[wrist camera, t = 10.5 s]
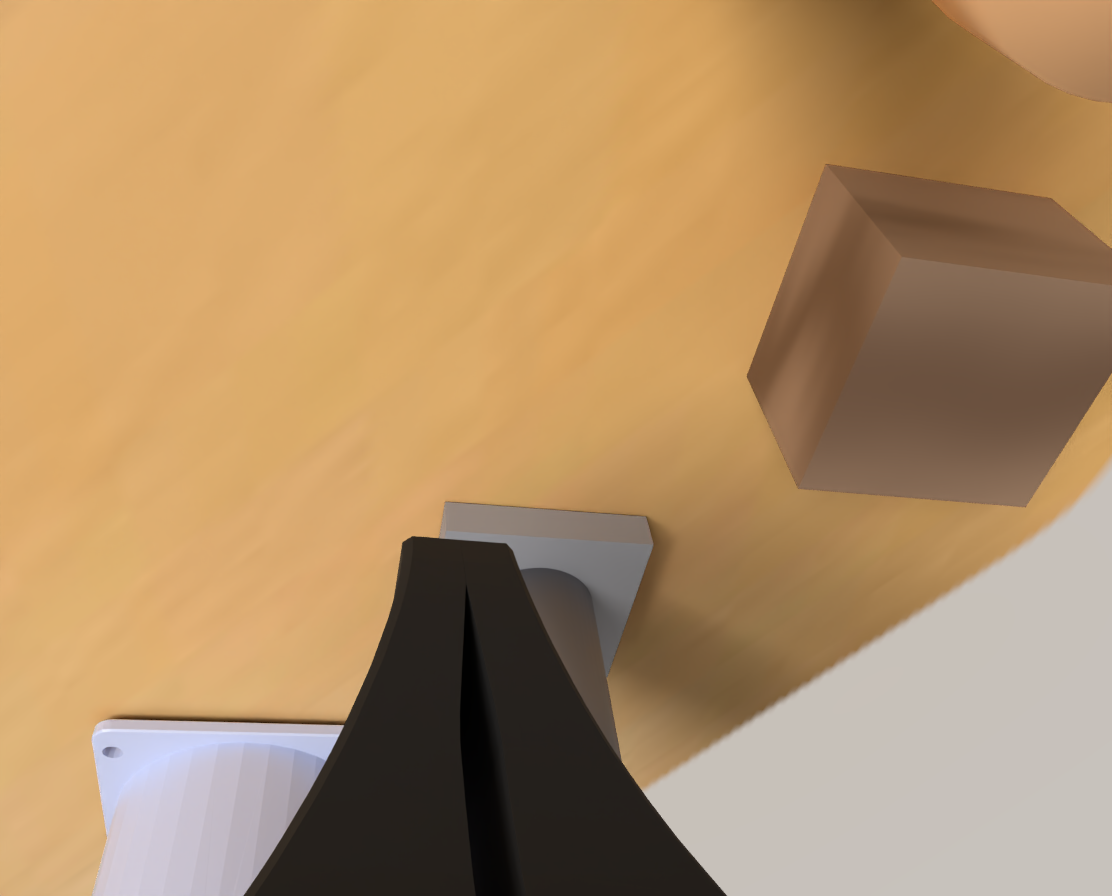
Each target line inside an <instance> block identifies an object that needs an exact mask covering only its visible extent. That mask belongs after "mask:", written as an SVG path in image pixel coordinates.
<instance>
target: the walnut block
mask: <svg viewBox="0 0 1112 896" xmlns="http://www.w3.org/2000/svg"><path fill="white" fill-rule="evenodd" d="M1111 373H1112V249H1111V248H1110V247H1109V246H1107V245H1106V244H1105V243H1104V242H1103V241H1101V240H1100V239H1099V238H1098V237H1097V236H1095V235H1094V234H1093V233H1092V232H1091V231H1089V230H1088V229H1087V228H1086V227H1085V226H1084V225H1082V224H1081V223H1080V222H1079V221H1078V220H1076V219H1075V218H1074V217H1073V216H1072V215H1070V214H1069V213H1068V212H1067V211H1066V210H1064V209H1063V208H1062V207H1061V206H1060V205H1058V204H1057V203H1056V202H1055V201H1054V200H1053V199H1051V198H1045V197H1039V196H1032V195H1026V194H1019V193H1012V192H1006V191H999V190H993V189H986V188H980V187H973V186H967V185H960V184H954V183H947V182H941V181H934V180H927V179H921V178H914V177H908V176H901V175H895V174H888V173H882V172H875V171H869V170H862V169H856V168H849V167H842V166H836V165H829V164H826V165H825V167H824V170H823V173H822V175H821V178H820V181H819V183H818V186H817V189H816V192H815V194H814V197H813V200H812V202H811V205H810V208H809V210H808V213H807V216H806V218H805V221H804V224H803V226H802V229H801V232H800V235H799V237H798V240H797V243H796V245H795V248H794V251H793V253H792V256H791V259H790V261H789V264H788V267H787V269H786V272H785V275H784V278H783V280H782V283H781V286H780V288H779V291H778V294H777V296H776V299H775V302H774V304H773V307H772V310H771V312H770V315H769V318H768V321H767V323H766V326H765V329H764V331H763V334H762V337H761V339H760V342H759V345H758V347H757V350H756V353H755V356H754V358H753V361H752V364H751V366H750V369H749V372H748V374H747V378H748V380H749V382H750V384H751V387H752V389H753V391H754V393H755V395H756V398H757V400H758V402H759V404H760V406H761V409H762V411H763V413H764V415H765V417H766V419H767V422H768V424H769V426H770V428H771V430H772V433H773V435H774V437H775V439H776V441H777V443H778V446H779V448H780V450H781V452H782V454H783V457H784V459H785V461H786V463H787V465H788V468H789V470H790V472H791V474H792V476H793V478H794V481H795V483H796V485H797V487H798V489H808V490H820V491H833V492H845V493H857V494H870V495H882V496H894V497H906V498H919V499H931V500H943V501H955V502H968V503H980V504H992V505H1005V506H1017V507H1026V506H1027V504H1028V503H1029V501H1030V499H1031V498H1032V496H1033V495H1034V493H1035V492H1036V490H1037V489H1038V487H1039V485H1040V484H1041V482H1042V481H1043V479H1044V478H1045V476H1046V475H1047V473H1048V471H1049V470H1050V468H1051V467H1052V465H1053V464H1054V462H1055V461H1056V459H1057V457H1058V456H1059V454H1060V453H1061V451H1062V450H1063V448H1064V447H1065V445H1066V443H1067V442H1068V440H1069V439H1070V437H1071V436H1072V434H1073V433H1074V431H1075V429H1076V428H1077V426H1078V425H1079V423H1080V422H1081V420H1082V418H1083V417H1084V415H1085V414H1086V412H1087V411H1088V409H1089V408H1090V406H1091V404H1092V403H1093V401H1094V400H1095V398H1096V397H1097V395H1098V394H1099V392H1100V390H1101V389H1102V387H1103V386H1104V384H1105V383H1106V381H1107V380H1108V378H1109V376H1110V375H1111Z"/></svg>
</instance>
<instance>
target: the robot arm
mask: <svg viewBox="0 0 1112 896" xmlns="http://www.w3.org/2000/svg"><path fill="white" fill-rule="evenodd" d="M92 745H93V751H94V757H95V764H96V770H97V776H98V783H99V789H100V795H101V802H102V808H103V814H104V821H105V827H106V834H107V841H106V845H105V849H104V852H103V856H102V860H101V863H100V867H99V871H98V874H97V878H96V882H95V886H94V889H93V893H92V896H727V895H726V894H725V893H724V892H723V891H722V890H721V888H720V887H719V886H718V885H717V884H716V883H715V881H714V880H713V879H712V878H711V877H710V876H709V875H708V873H707V872H706V871H705V870H704V869H703V867H702V866H701V865H700V864H699V863H698V862H697V860H696V859H695V858H694V857H693V856H692V855H691V853H690V852H689V851H688V850H687V849H686V848H685V846H684V845H683V844H682V843H681V842H680V840H679V839H678V838H677V837H676V836H675V834H674V833H673V832H672V830H671V829H670V828H669V826H668V825H667V824H666V822H665V821H664V820H663V819H662V817H661V816H660V815H659V813H658V812H657V811H656V809H655V808H654V807H653V806H652V804H651V803H650V801H649V800H648V799H647V797H646V796H645V795H644V793H643V792H642V790H641V789H640V788H639V786H638V785H637V783H636V782H635V780H634V779H633V778H632V776H631V775H630V773H629V772H628V771H627V769H626V768H625V766H624V765H623V763H622V762H621V760H620V759H619V757H618V756H617V754H616V753H615V751H614V750H613V748H612V746H611V745H610V743H609V742H608V740H607V739H606V737H605V735H604V734H603V732H602V731H601V729H600V727H599V726H598V724H597V722H596V721H595V719H594V717H593V716H592V714H591V712H590V711H589V709H588V707H587V706H586V704H585V702H584V700H583V699H582V697H581V695H580V693H579V692H578V690H577V688H576V686H575V685H574V683H573V681H572V679H571V677H570V675H569V673H568V671H567V670H566V668H565V666H564V664H563V662H562V660H561V658H560V656H559V654H558V652H557V651H556V649H555V647H554V645H553V643H552V641H551V639H550V637H549V635H548V633H547V631H546V629H545V626H544V624H543V622H542V620H541V618H540V616H539V613H538V611H537V609H536V607H535V605H534V603H533V600H532V598H531V596H530V593H529V591H528V589H527V586H526V584H525V581H524V579H523V576H522V574H521V571H520V569H519V566H518V564H517V561H516V558H515V555H514V552H513V550H512V549H511V548H510V547H509V546H508V545H507V543H495V542H482V541H469V540H455V539H442V538H429V537H415V536H412V537H411V538H409V539H407V540H406V541H404V542H403V543H402V550H401V556H400V563H399V569H398V576H397V582H396V589H395V595H394V600H393V604H392V607H391V611H390V614H389V618H388V621H387V623H386V626H385V629H384V632H383V634H382V637H381V640H380V643H379V645H378V648H377V651H376V653H375V656H374V659H373V662H372V664H371V667H370V669H369V671H368V674H367V676H366V678H365V681H364V683H363V685H362V687H361V689H360V692H359V694H358V696H357V698H356V701H355V703H354V705H353V707H352V709H351V712H350V714H349V716H348V718H347V721H346V723H345V725H319V724H281V723H243V722H205V721H167V720H129V719H109V720H104V721H102V722H99V723H98V724H97V725H96V726H95V729H94V732H93V735H92Z"/></svg>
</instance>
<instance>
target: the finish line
mask: <svg viewBox="0 0 1112 896" xmlns="http://www.w3.org/2000/svg"><path fill="white" fill-rule="evenodd" d="M932 1H933V2H934V3H935V4H936V5H937V6H938V8H939V9H940V10H941V11H942V12H943V13H944V14H945V15H946V16H947V17H948V18H950V19H951V20H953V21H954V22H955V23H957V24H958V25H960V26H961V27H962V28H964V29H965V30H967V31H968V32H970V33H971V34H973V35H974V36H976V37H977V38H979V39H980V40H982V41H983V42H985V43H986V44H988V45H989V46H991V47H992V48H994V49H995V50H997V51H998V52H1000V53H1001V54H1003V55H1004V56H1006V57H1007V58H1009V59H1010V60H1012V61H1013V62H1015V63H1016V64H1018V65H1019V66H1021V67H1022V68H1024V69H1026V70H1027V71H1029V72H1030V73H1032V74H1033V75H1035V76H1036V77H1038V78H1039V79H1041V80H1042V81H1044V82H1045V83H1047V84H1049V85H1051V86H1053V87H1055V88H1058V89H1060V90H1062V91H1064V92H1066V93H1068V94H1071V95H1075V96H1078V97H1082V98H1086V99H1090V100H1093V101H1100V102H1109V103H1112V0H932ZM439 538H442V539H455V540H469V541H482V542H495V543H507V545H508V546H509V547H510V548H511V549H512V550H513V552H514V555H515V558H516V561H517V564H518V566H519V569H520V571H521V574H522V576H523V579H524V581H525V584H526V586H527V589H528V591H529V593H530V596H531V598H532V600H533V603H534V605H535V607H536V609H537V611H538V613H539V616H540V618H541V620H542V622H543V624H544V626H545V629H546V631H547V633H548V635H549V637H550V639H551V641H552V643H553V645H554V647H555V649H556V651H557V652H558V654H559V656H560V658H561V660H562V662H563V664H564V666H565V668H566V670H567V671H568V673H569V675H570V677H571V679H572V681H573V683H574V685H575V686H576V688H577V690H578V692H579V693H580V695H581V697H582V699H583V700H584V702H585V704H586V706H587V707H588V709H589V711H590V712H591V714H592V716H593V717H594V719H595V721H596V722H597V724H598V726H599V727H600V729H601V731H602V732H603V734H604V735H605V737H606V739H607V740H608V742H609V743H610V745H611V746H612V748H613V750H614V751H615V753H616V754H617V756H618V757H619V759H620V760H621V755H620V750H619V744H618V739H617V733H616V728H615V722H614V717H613V711H612V706H611V700H610V695H609V689H608V684H607V679H606V677H607V676H608V674H609V671H610V668H611V665H612V662H613V659H614V656H615V654H616V651H617V648H618V645H619V642H620V639H621V636H622V634H623V631H624V628H625V625H626V622H627V619H628V616H629V614H630V611H631V608H632V605H633V602H634V599H635V597H636V594H637V591H638V588H639V585H640V582H641V579H642V577H643V574H644V571H645V568H646V565H647V562H648V559H649V557H650V554H651V551H652V548H653V545H654V544H653V541H652V537H651V533H650V529H649V525H648V522H647V518H646V517H644V516H630V515H617V514H603V513H590V512H576V511H562V510H549V509H535V508H522V507H508V506H494V505H481V504H467V503H454V502H445V506H444V512H443V518H442V524H441V530H440V536H439ZM621 762H622V761H621Z"/></svg>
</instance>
